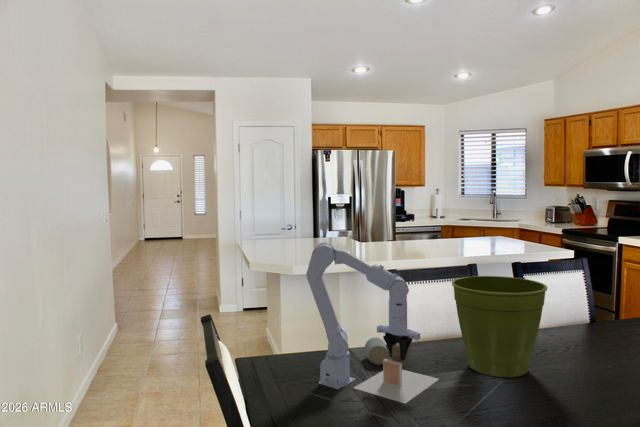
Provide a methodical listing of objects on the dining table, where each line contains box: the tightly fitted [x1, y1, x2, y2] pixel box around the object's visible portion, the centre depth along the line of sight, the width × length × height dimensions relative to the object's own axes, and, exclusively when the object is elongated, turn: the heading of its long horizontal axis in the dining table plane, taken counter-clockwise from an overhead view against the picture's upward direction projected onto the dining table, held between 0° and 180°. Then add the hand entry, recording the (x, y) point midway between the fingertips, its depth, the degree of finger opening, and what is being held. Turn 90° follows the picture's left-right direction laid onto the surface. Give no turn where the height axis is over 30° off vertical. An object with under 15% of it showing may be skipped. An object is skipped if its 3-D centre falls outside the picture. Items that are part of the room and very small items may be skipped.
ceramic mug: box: [364, 337, 392, 366], centre depth 174 cm, size 11×8×8 cm
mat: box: [353, 369, 440, 405], centre depth 154 cm, size 22×18×1 cm
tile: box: [382, 359, 403, 386], centre depth 154 cm, size 1×6×7 cm, turn 51°
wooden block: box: [392, 342, 406, 367], centre depth 157 cm, size 3×3×6 cm
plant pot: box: [451, 275, 548, 378], centre depth 166 cm, size 30×30×29 cm
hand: (398, 358), depth 156 cm, fingers closed on wooden block, 3 cm apart
